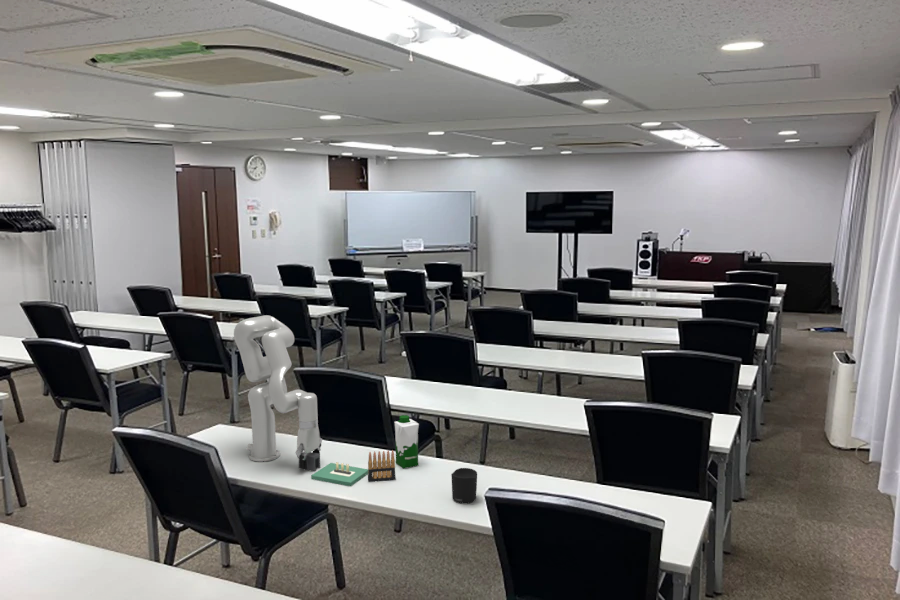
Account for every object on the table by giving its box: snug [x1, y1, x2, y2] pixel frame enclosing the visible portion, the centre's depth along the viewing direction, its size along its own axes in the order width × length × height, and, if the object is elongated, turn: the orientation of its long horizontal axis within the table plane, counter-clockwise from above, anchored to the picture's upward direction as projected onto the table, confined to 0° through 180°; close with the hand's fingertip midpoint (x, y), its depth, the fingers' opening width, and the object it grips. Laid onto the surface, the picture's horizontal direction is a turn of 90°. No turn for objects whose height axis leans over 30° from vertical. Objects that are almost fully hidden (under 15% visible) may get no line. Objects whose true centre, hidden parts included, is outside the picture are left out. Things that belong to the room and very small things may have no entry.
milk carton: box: [394, 414, 420, 470], centre depth 277 cm, size 9×9×20 cm
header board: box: [310, 461, 368, 487], centre depth 267 cm, size 18×14×5 cm
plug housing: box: [298, 451, 321, 472], centre depth 275 cm, size 8×4×6 cm, turn 67°
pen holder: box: [450, 467, 478, 504], centre depth 246 cm, size 9×9×10 cm
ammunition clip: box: [367, 449, 397, 483], centre depth 262 cm, size 11×2×12 cm, turn 101°
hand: (309, 464), depth 275 cm, fingers open, 8 cm apart
